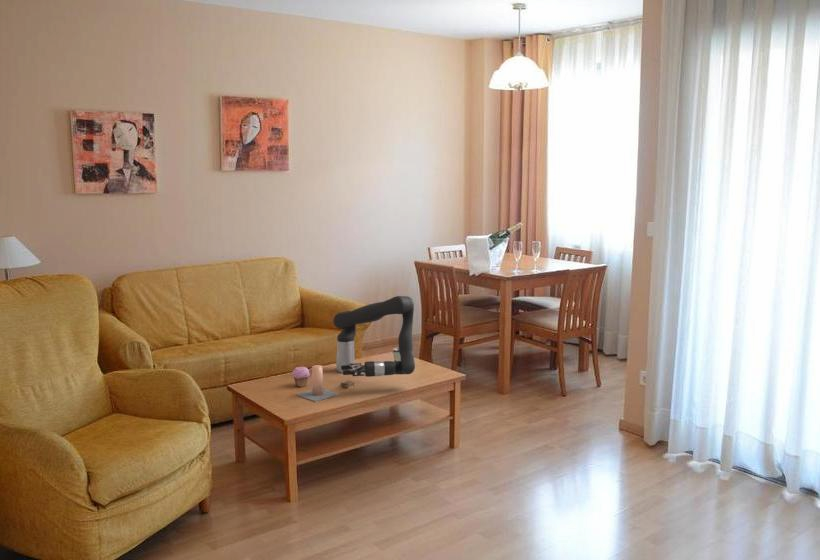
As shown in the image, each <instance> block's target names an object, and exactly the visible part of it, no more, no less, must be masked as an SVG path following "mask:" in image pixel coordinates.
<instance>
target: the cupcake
mask: <svg viewBox="0 0 820 560" xmlns="http://www.w3.org/2000/svg"><path fill="white" fill-rule="evenodd" d="M291 375H292V377H293V378H294V385H295V386H296V387H299V388H304V387H306V386H307V384H308V381H309V377H310V375H311V374H310V370H309V369H308V367H306V366H297V367H295V368H294V369H293V370H292V373H291Z"/></svg>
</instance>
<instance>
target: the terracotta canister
mask: <svg viewBox="0 0 820 560" xmlns="http://www.w3.org/2000/svg"><path fill="white" fill-rule="evenodd" d="M323 370H324V369H323V365H321V364H313V365H312V366H311V377H312V378H311V385H312V387H311V388H312V389H311V390H312V394H313V395H315V396H320V395H323V389H324V373H323Z"/></svg>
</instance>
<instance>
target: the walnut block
mask: <svg viewBox="0 0 820 560" xmlns="http://www.w3.org/2000/svg"><path fill="white" fill-rule="evenodd" d="M341 386H342V387H341ZM352 386H353V387H355V381H353V380H343V381H342V382H340V387H341V388H344V387H347V388H346V389H350V388H349V387H351V388H353V387H352Z"/></svg>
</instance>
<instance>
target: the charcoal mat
mask: <svg viewBox="0 0 820 560" xmlns="http://www.w3.org/2000/svg"><path fill="white" fill-rule="evenodd" d="M336 395H338V396H340V393H337V392H335V391H331V390H328V389H327V388H326V389H325V388H323V395H320V396H315V395H313V394H312V389H309V390H306V391H302V392H299V393H296V394H295V396H297V397H299V396H300V398H302V397H303V398H302V399H305V398H306V399H305V400H308V399H309V400H308V401H311V400H312V401H311V402H313V401H315V402H314V403H317V402H316V401H318V402H321V401H324V400H327V398H328V399H330V397H331V398H334V397H337V396H336ZM333 396H334V397H333ZM323 399H324V400H323ZM320 400H321V401H320Z"/></svg>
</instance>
